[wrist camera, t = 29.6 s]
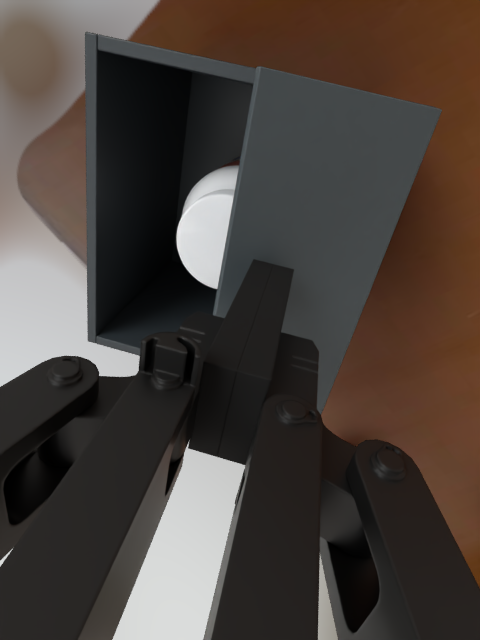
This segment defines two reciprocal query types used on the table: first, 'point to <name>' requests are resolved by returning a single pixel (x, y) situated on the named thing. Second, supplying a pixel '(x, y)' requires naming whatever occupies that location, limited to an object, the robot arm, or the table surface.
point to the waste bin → (151, 178)
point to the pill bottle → (207, 223)
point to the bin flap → (321, 200)
